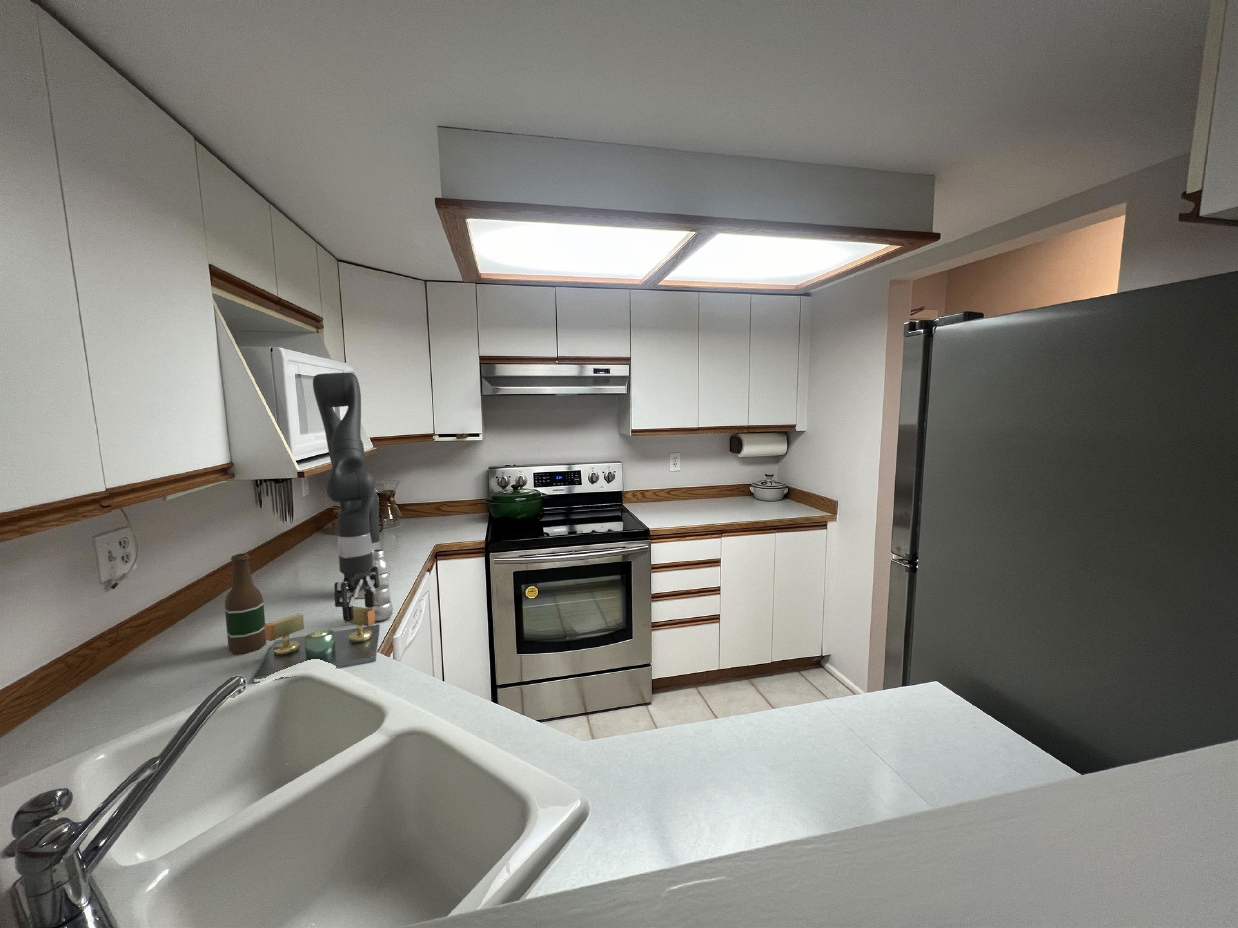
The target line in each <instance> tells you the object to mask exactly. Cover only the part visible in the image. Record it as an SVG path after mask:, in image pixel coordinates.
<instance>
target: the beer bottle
mask: <svg viewBox="0 0 1238 928" xmlns="http://www.w3.org/2000/svg"><path fill="white" fill-rule="evenodd" d="M249 559H251V557H250V555H249V554H248V553H238V554H235V555H232V556H231V558H230V561H232V585H231V589H230V590H229V591H228V593H227V595H226V599H225V600H224V601H225V602H224V613H225V614H224V615H225V625H226V634H227V645H228V650H229V652H230V653H231V652H232V653H231V654H233V655H247V654H250V653H253V652H256V651H259V650H261V649H262V648H264V647H265V646H266V644H267V640H266V639H265V627H264V624H266V619H265V607H264V598H263V595H262V593H261V592H260V589H258V587H256V586H255V585H254V581H253V579H252V572H251V567H250V561H249ZM249 652H250V653H249Z"/></svg>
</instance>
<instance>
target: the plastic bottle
mask: <svg viewBox="0 0 1238 928" xmlns="http://www.w3.org/2000/svg"><path fill="white" fill-rule="evenodd" d="M372 555H373V566H376V567H378V576H379V588H376V589H375V593H374V607H372V608H371V609H374V614H375V622H381V621H385V620H389V618H391V617H392V615H393V614H394V613H393V612H394V607H393V603H392V599H391V593H390V574H391V566H390V564H389V562H388V561H387V560H386V559H385V558H384V557H385V551H384V549H383V548H382V549H381V548H380V549H375V550H372ZM372 583H375V581H374V580H372ZM369 609H370V608H369Z"/></svg>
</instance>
